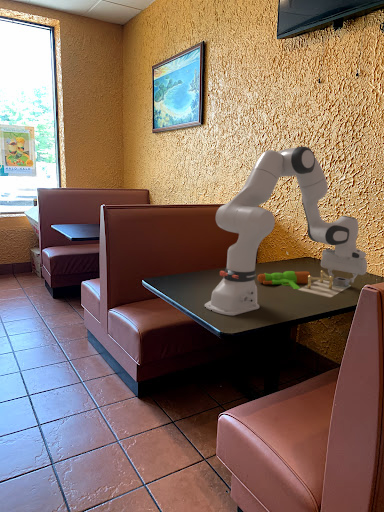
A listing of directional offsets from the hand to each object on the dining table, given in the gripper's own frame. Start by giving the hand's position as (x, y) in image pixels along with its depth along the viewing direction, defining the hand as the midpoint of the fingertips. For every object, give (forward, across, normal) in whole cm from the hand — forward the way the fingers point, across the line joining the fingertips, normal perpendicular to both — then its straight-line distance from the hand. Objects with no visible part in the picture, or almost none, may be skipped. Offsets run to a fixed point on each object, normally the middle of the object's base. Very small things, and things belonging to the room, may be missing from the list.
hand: (341, 280), depth 176 cm
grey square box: (+2, 0, 0) cm, 2 cm away
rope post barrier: (+3, -5, -9) cm, 11 cm away
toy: (+4, -19, -17) cm, 26 cm away
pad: (+3, 0, 0) cm, 3 cm away
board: (+4, -4, -9) cm, 10 cm away
